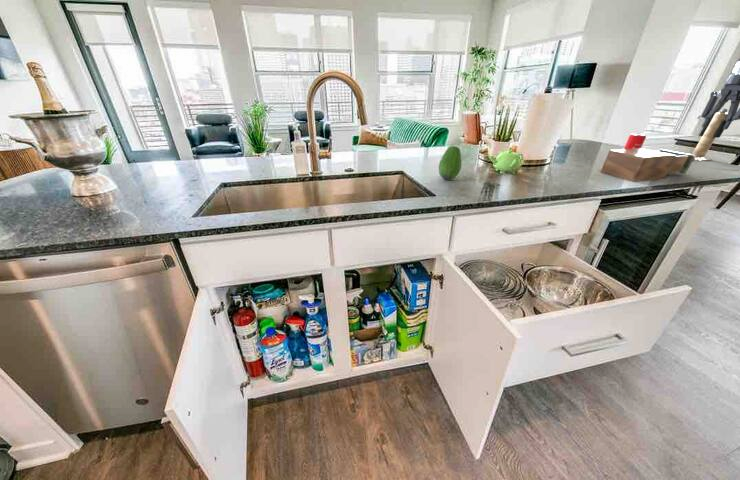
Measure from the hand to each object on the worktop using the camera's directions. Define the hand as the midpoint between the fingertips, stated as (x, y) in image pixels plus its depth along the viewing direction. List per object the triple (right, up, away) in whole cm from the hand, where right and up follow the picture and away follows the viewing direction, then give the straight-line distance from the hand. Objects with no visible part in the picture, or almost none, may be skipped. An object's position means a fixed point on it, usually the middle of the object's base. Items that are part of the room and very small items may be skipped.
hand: (709, 136), depth 118 cm
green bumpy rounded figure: (-94, -18, -9) cm, 96 cm away
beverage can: (-37, -12, 0) cm, 39 cm away
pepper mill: (0, -8, +4) cm, 9 cm away
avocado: (-118, -23, -17) cm, 122 cm away
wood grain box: (-48, -20, -15) cm, 55 cm away
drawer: (-35, -18, -13) cm, 42 cm away
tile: (0, -9, +5) cm, 10 cm away
